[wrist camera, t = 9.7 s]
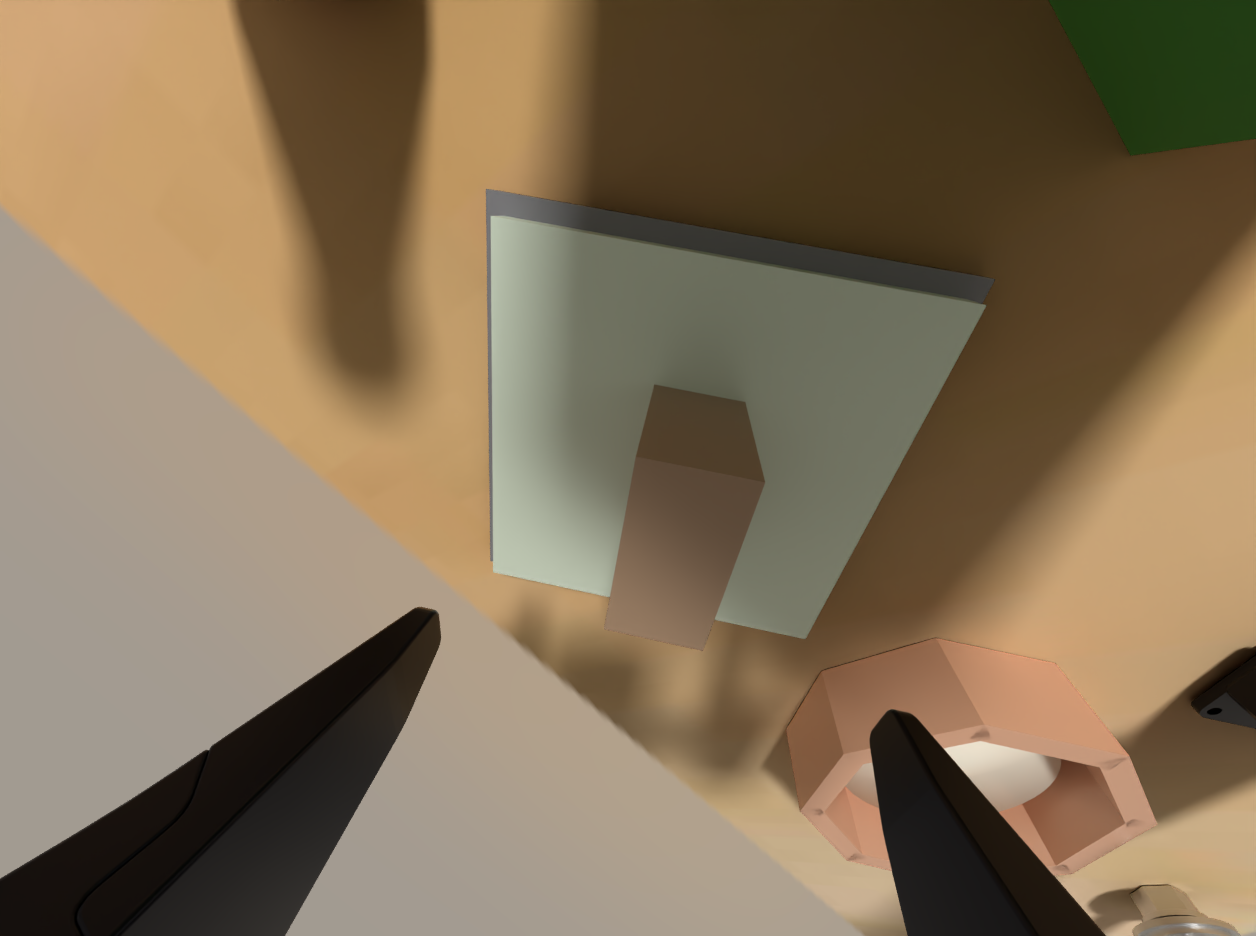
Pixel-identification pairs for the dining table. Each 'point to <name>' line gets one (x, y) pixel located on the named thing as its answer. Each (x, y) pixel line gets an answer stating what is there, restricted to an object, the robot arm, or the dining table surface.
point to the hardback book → (1169, 68)
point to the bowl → (969, 750)
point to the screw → (1174, 915)
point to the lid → (697, 423)
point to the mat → (722, 245)
